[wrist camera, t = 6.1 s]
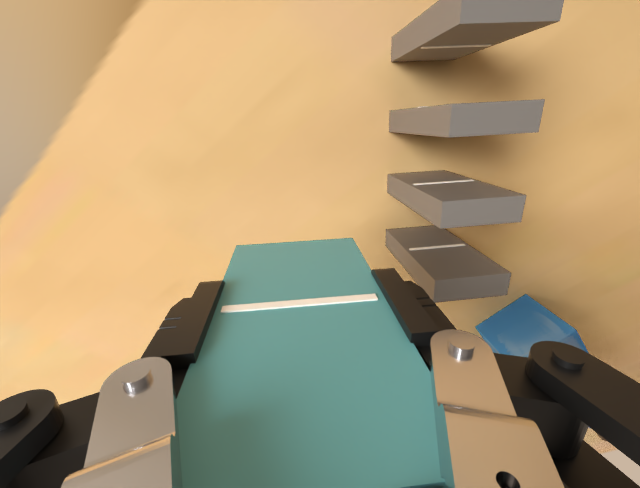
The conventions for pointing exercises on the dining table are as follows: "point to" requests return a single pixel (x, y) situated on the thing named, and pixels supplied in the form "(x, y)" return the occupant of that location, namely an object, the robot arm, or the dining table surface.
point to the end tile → (306, 379)
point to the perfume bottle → (526, 329)
